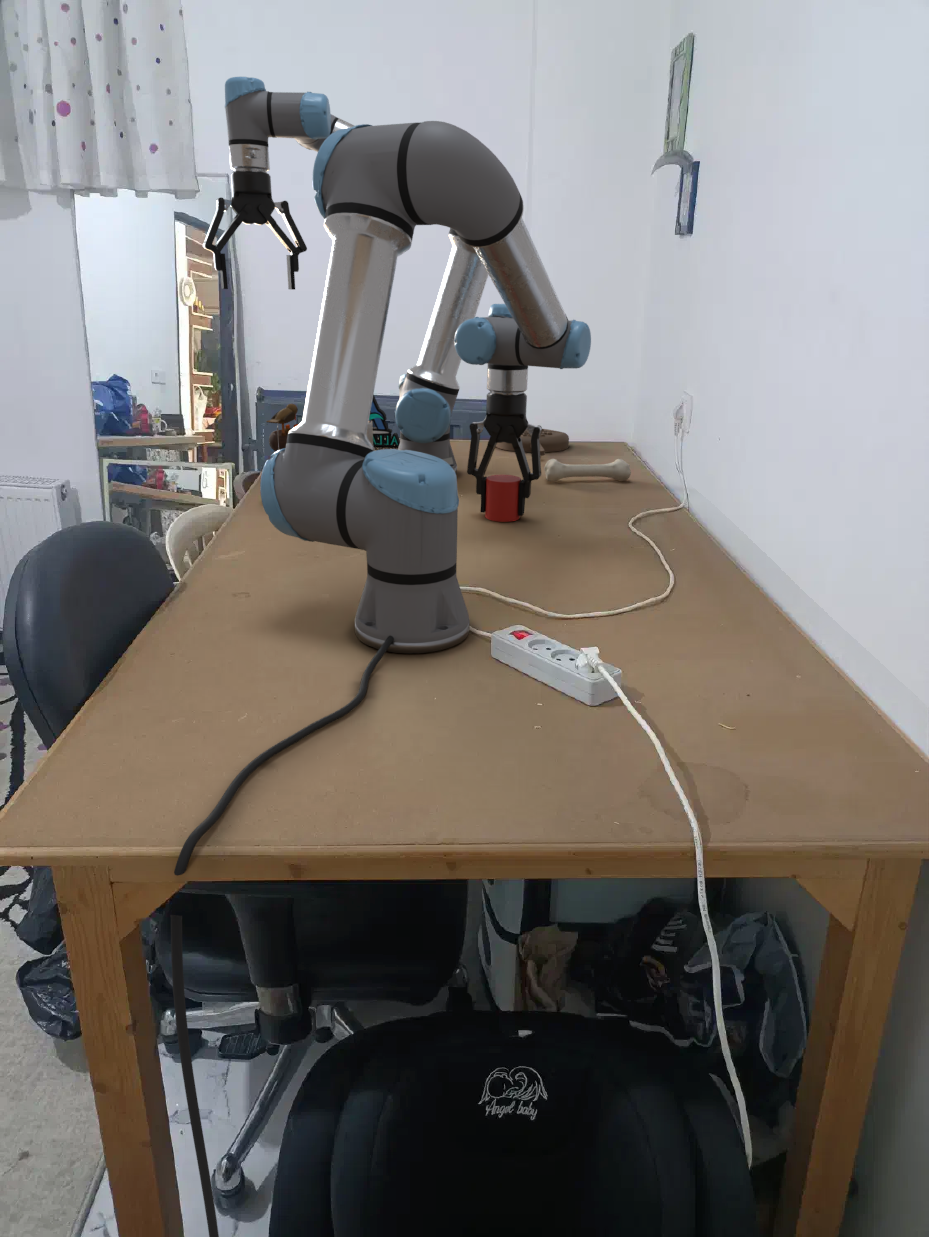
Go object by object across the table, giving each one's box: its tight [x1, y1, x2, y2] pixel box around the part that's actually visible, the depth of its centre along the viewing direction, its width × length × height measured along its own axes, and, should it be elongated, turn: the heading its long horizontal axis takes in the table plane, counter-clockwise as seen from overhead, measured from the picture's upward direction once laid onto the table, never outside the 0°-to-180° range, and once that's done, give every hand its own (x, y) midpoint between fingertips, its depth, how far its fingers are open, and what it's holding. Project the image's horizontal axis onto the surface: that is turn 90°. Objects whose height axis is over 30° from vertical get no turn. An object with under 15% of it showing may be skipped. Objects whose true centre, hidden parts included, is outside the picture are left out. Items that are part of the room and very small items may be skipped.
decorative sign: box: [369, 394, 400, 448], centre depth 229 cm, size 19×2×15 cm, turn 86°
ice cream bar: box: [495, 428, 570, 457], centre depth 228 cm, size 21×28×4 cm
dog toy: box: [543, 458, 632, 482], centre depth 196 cm, size 20×6×5 cm, turn 99°
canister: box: [484, 474, 522, 523], centre depth 165 cm, size 7×7×8 cm
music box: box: [266, 403, 299, 452], centre depth 172 cm, size 15×11×20 cm
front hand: (502, 512), depth 166 cm, fingers closed on canister, 7 cm apart
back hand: (258, 289), depth 172 cm, fingers open, 13 cm apart
